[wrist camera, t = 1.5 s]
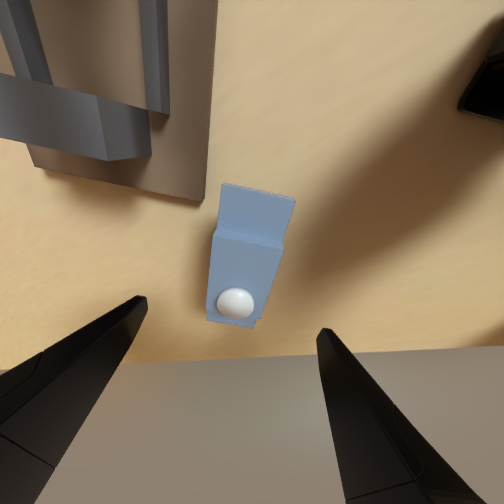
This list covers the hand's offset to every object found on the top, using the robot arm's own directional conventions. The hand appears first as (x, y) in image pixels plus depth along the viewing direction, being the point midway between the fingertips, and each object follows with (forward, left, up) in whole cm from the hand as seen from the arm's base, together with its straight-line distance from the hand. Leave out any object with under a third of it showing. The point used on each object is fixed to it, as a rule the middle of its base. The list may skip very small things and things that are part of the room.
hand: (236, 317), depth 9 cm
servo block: (0, 0, -9) cm, 9 cm away
